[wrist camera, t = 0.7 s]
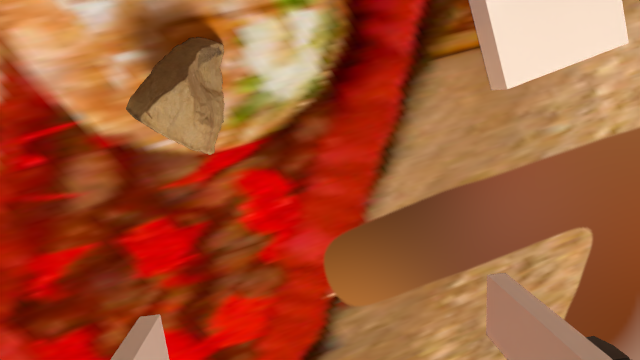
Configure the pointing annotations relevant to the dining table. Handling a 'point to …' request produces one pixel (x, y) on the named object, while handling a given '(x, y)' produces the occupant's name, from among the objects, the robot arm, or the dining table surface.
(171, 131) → the rock
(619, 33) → the channel
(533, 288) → the dining table surface
